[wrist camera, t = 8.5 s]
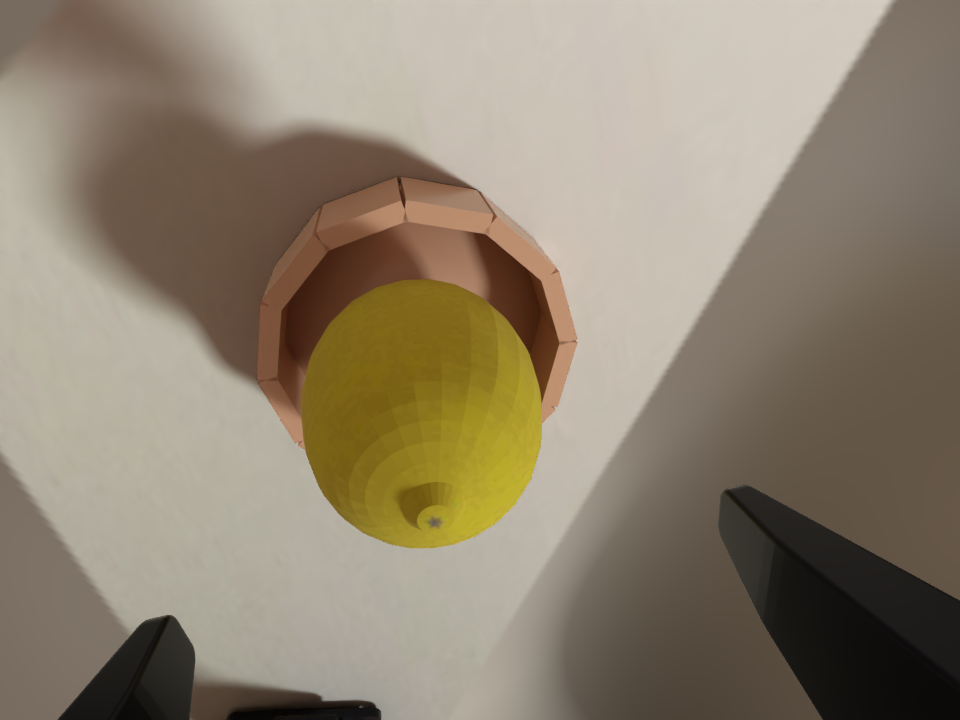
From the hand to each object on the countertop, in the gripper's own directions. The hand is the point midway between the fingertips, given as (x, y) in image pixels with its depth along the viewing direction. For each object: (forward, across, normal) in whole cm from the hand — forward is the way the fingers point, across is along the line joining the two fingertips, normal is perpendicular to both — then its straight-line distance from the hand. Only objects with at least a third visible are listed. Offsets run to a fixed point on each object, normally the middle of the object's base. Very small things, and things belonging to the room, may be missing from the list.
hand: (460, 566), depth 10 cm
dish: (+10, 0, 0) cm, 10 cm away
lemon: (+9, 0, 0) cm, 9 cm away
